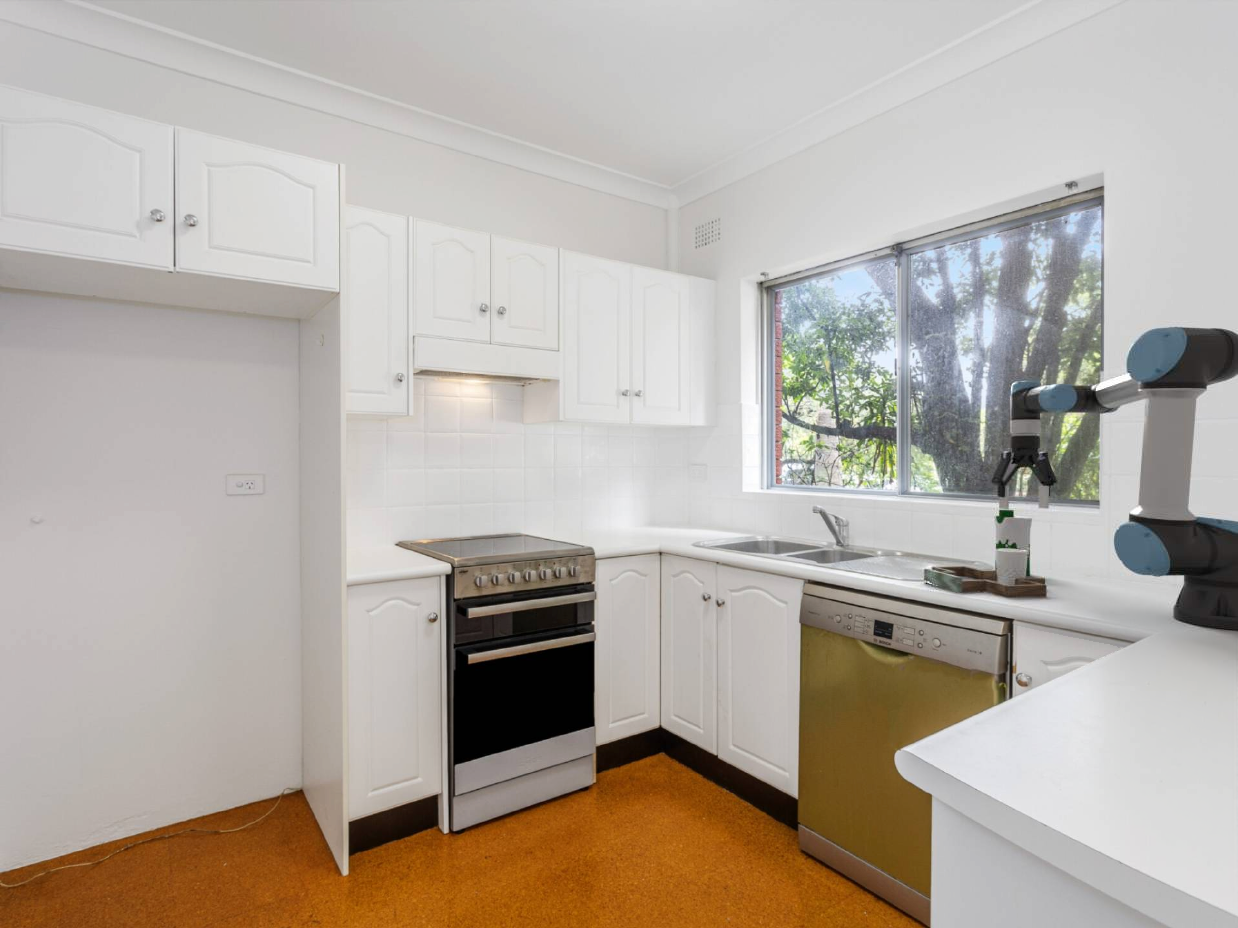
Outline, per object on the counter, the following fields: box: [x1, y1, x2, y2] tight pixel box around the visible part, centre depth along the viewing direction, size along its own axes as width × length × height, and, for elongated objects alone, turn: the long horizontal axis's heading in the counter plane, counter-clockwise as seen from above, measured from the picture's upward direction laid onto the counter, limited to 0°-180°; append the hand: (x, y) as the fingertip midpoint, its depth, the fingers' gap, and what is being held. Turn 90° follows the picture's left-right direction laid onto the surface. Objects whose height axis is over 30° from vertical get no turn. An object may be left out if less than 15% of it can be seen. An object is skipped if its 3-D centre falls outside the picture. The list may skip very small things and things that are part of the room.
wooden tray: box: [923, 565, 1047, 599], centre depth 191 cm, size 31×27×4 cm
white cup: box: [995, 548, 1028, 585], centre depth 192 cm, size 8×8×10 cm
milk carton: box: [993, 509, 1033, 577], centre depth 211 cm, size 9×9×20 cm
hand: (1023, 508), depth 195 cm, fingers open, 13 cm apart
